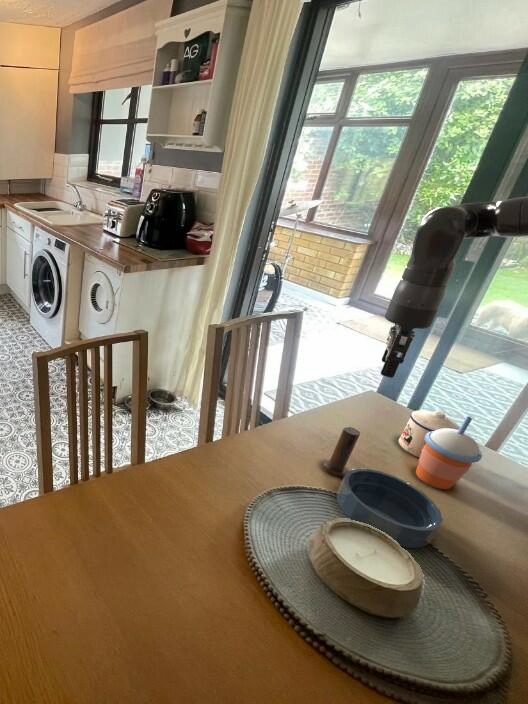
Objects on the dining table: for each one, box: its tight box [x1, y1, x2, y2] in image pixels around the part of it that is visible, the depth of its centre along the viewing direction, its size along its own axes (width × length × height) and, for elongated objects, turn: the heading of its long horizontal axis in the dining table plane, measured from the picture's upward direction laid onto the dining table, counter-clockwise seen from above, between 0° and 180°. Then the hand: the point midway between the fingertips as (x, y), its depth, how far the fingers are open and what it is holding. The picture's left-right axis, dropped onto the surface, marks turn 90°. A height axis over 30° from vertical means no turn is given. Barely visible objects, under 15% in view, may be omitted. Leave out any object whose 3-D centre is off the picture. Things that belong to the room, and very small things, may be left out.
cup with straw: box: [415, 416, 483, 490], centre depth 92 cm, size 9×9×18 cm
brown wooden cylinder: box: [322, 426, 361, 478], centre depth 96 cm, size 4×4×12 cm
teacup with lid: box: [398, 409, 461, 458], centre depth 101 cm, size 12×9×12 cm
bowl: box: [336, 468, 444, 548], centre depth 86 cm, size 16×16×6 cm
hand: (386, 369), depth 93 cm, fingers open, 8 cm apart
